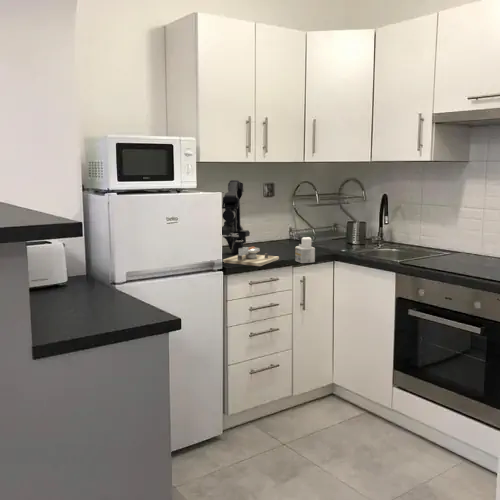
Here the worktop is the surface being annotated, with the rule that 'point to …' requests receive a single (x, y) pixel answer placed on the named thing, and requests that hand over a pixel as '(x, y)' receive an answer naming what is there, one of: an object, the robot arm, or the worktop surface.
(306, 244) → the container
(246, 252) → the grey piece
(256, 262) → the base plate
